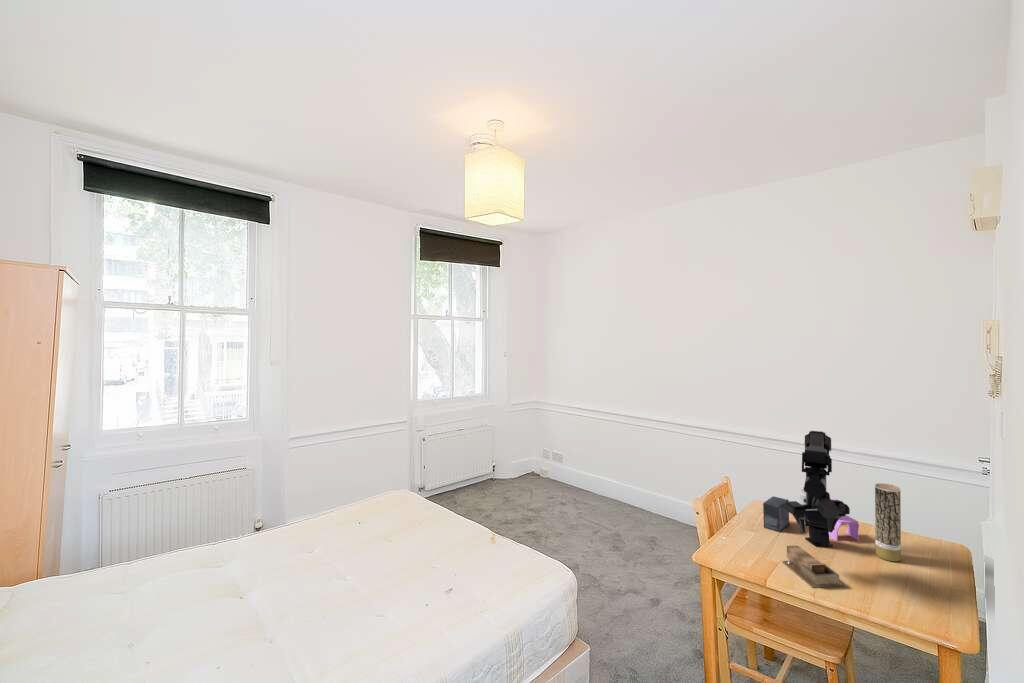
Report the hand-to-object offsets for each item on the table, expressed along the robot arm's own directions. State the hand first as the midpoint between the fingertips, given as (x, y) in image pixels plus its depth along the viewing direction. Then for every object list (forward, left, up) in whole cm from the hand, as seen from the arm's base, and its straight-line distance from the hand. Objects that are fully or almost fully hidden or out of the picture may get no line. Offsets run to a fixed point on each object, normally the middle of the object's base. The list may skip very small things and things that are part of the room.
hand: (816, 532), depth 151 cm
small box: (-31, +5, -12) cm, 34 cm away
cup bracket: (+4, -5, -12) cm, 13 cm away
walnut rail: (+1, -5, -11) cm, 12 cm away
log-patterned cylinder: (-4, +28, -12) cm, 31 cm away
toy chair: (-20, +24, -12) cm, 34 cm away
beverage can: (-36, +22, -12) cm, 44 cm away
